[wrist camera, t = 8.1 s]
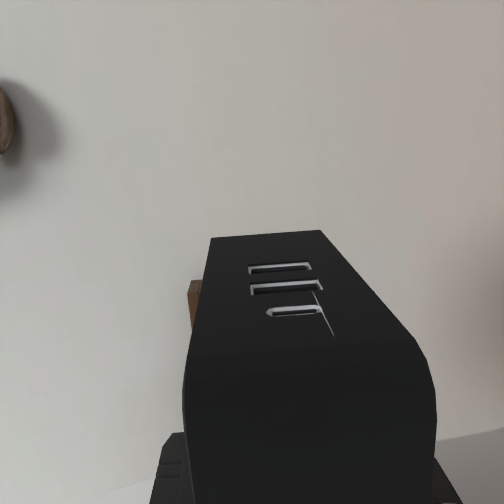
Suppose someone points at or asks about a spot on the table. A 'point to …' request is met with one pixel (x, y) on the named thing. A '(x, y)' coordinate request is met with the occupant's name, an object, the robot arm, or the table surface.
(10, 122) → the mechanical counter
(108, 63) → the table surface
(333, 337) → the electronic device
